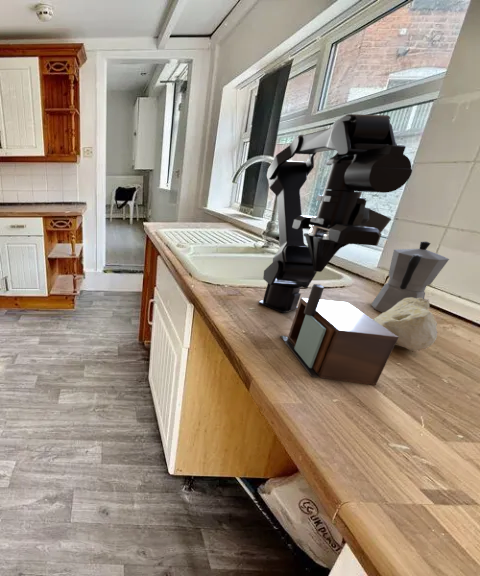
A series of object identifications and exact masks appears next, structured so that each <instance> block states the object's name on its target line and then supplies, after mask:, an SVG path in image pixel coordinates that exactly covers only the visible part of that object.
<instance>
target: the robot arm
mask: <svg viewBox="0 0 480 576" xmlns="http://www.w3.org/2000/svg"><path fill="white" fill-rule="evenodd" d="M390 119H391V117H390V116H389V115H388V114H387V115H386V114H358V113H356V114H353V113H348V114H346V115H344V116H342V117H340V118H338V119H337V120H335V121H334V122H333V124H332V126H331V127H328V128H324V129H320V130H317V131H313V132H309V133H306V134H298V135H296V136H294V138H293V139H292V140H291V142H290V144H289V145H288V146H287V147H285V148H283V150H281V151H279V153H277V154H276V155H275V156H274V158H273V159H272V162H271V163H270V165H269V167H268V168H267V172H266V178H267V182H268V188H269V189H270V190H271V192H272V193H273V194H274V195H275V196H276V201H277V202H276V203H277V220H278V236H279V239H278V241H279V248H278V250H277V252H276V253H275V254H274V255H273V257H272V262H271V263H270V264H269V265H268V266H267V267H266V268H265V269H264V270H263V276H262V278H263V280H264V281H265V282H266V283H267V285H266V288H265V292H264V295H263V299H261V300H259V301H258V304H260V305H262V306H264V307H267V308H269V309H271V310H273V311H276V312H278V313H281V314H286V313H288V312H292V311H295V310H297V308H298V305H299V302H300V299H301V295H302V294H301V292H300V290H301V288H304V289H308V288H309V286H310V284H311V283H312V280H313V279H314V278H315V276H316V275H317V273H321V272H323V270H325V268H326V267H327V265H328V264H329V263H330V261H331V260H332V259H333V257H334V256H335V255H336V254H337V253H338V251H339V250H341V249H342V248H344V247H346V246H348V245H362V246H379V243H380V240H381V237H382V232H383V231H384V230H385V228H386V227H387V226H388V224H389V223H390V222H391V220H392V218H391V217H389V216H387V215H384V214H383V213H380V212H378V211H376V210H374V209H371V208H370V207H366V205H367V200H366V199H367V197H361V196H362V194H363V193H383V194H386V193H392V192H395V191H397V190H399V189H401V188H402V187H403V186H404V185H406V183H407V182H408V180H410V178H411V176H412V173H413V168H412V162H411V160H410V158H409V157H408V156H407V155H405V154H404V153H405V150H406V147H407V146H406V145H403V144H402V145H400V144H397V142H396V138H395V133H394V128H393V125H392V124H391V120H390ZM329 151H336V153H335V154H334V155H333V156H332V157H330V158H329V159H327V161H326V163H325V164H326V166H330V168H329V171H328V175H327V177H326V180H325V181H326V182H325V185H324V188H323V191H322V195H321V194H317V195H316V199H315V201H318V202H319V205H318V208H317V212H316V215H315V216H313V215H303V214H302V213H303V212H302V211H303V210H302V200H301V189H302V187H303V186H304V184H305V183H306V182H307V180H308V176H309V174H310V173H311V171H312V170H314V167H315V156H316V154H317V153H321V152H323V153H324V152H329ZM295 155H308V157H307V159H306V161H301V160H299V161H298V160H291V159H292V158H293V157H295ZM304 230H308V232H307V233H304ZM304 237H305V238H304ZM305 241H306V243H305ZM306 244H307V245H306Z"/></svg>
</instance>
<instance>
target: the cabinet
mask: <svg viewBox="0 0 480 576" xmlns="http://www.w3.org/2000/svg"><path fill="white" fill-rule="evenodd" d="M308 298H309V297H308ZM308 298H307V297H300V298H299V301H298V304H297V307H298V308H297V309H296V311H295V314H294V317H293V319H292V324H291V327H290V330H289V332H288V335H287V336H286V335H280V338H281V340H282V341H283V342H284V343H285V345H286V346H287V348H288V349H289V350H290V351H291V353H292V354H293V356H294V357H295V358H296V359H297V361H298V362H299V363H300V364H301V366H302V367H303V368H304V370H305V371H306V372H307V373H308V375H309V376H310V377H311V378H318V377H319V378H320V379H326V380H334V381H341V382H348V383H349V382H350V383H356V384H365V385H372V386H376V385H377V382H378V381H379V379H380V377H381V375H382V374H383V371H384V368H385V367H386V365H387V362H388V360H389V358H390V356H391V355H392V352H393V350H394V348H395V346H396V342H397V340H398V338H399V337H398V336H396V335H395V334H393V333H392V332H390V331H389V330H387V329H386V328H385V327H383V326H382V325H380V324H379V323H377V322H376V321H374V320H373V319H374V318H371V317H370V316H369V315H367V314H366V313H364V312H363V311H361V309H358V308H357V307H356V306H354V305H352V304H351V303H349V302H348V301H339V300H329V299H320V301H319V304H318V306H317V309H316V312H315V315H314V316H313V317H314V318H315V319H316V320H317V321H318V322H319V323H320V324H321V325H322V326H323V327H325V328H326V331H325V334H324V337H323V339H322V342H321V345H320V347H319V350H318V353H317V355H316V358H315V361H314V363H313V366H312V368H309V367H308V365H307V364H306V363H305V362H304V360H303V359H302V358H301V357H300V355H299V354H298V353H297V352H296V350H295V349H294V348H295V345H296V342H297V339H298V336H299V333H300V330H301V327H302V324H303V321H304V318H305V315H306V314H304V310H305V307H306V304H307V301H308Z"/></svg>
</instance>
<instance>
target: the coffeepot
mask: <svg viewBox="0 0 480 576" xmlns="http://www.w3.org/2000/svg"><path fill="white" fill-rule="evenodd" d="M430 245H431V242H430V241H429V242H428V241H425V240H424V241H420V244H419V248H402V249H401V248H400V249H399V248H398V249H397V248H396V249H393V252H392V257H391V261H390V266H389V270H388V277H389V279H388V281H387V282H386V283H385V284H384V285H383V286H382V288H381V289H380V290H379V292H378V294H377V295H376V296H375V298H374V299H373V301H371V303H370V304H371V306H372V308H373V309H374V310H376V311H378V312H380V313H381V314H382V313H384V312H386V311H387V310H389V309H391V308H392V307H393V306H394V305H396V304H397V303H398V302H399V301H401V300H403V299H404V298H409V297H413V298H416V299H417V298H423V300H424V299H425V297H426V292H425V290H426V289H427V287H428V286H430V285H432V283H433V282H434V280H435V279H436V278H437V277H438V275H439V274H440V273H441V272H442V270H443V269H444V267H445V266H446V264H447V263H448V261H449V260H450V259H449V258H448V257H445V256H444V255H441V254H438V253H436V252H433V251H431V250H427V249H428V248H429V246H430Z"/></svg>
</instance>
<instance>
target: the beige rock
mask: <svg viewBox="0 0 480 576" xmlns="http://www.w3.org/2000/svg"><path fill="white" fill-rule="evenodd" d="M429 308H430V299H429V298H424V300H423V298H417V299H416V298H413V297H409V298H404V299H403V300H401V301H399V302H398V303H397V304H396V305H394V306H393V307H392V308H391V309H389V310H387V311H386V312H384V313H382V312H381V313H379V314H378V315H377V316H376V317H375V318H372V319H373V320H374V321H376V322H377V323H379V324H380V325H382V326H383V327H385V328H386V329H387V330H389V331H390V332H392V333H393V334H395V335H396V336H398V337H399V338H398V340H397V342H396V344H395V346H398V347H402V348H405V349H407V350H408V351H410V352H414V353H415V352H417V351H420V350H427V349H428V348H430V347H431V346H433V344H435V342H436V340H437V339H438V329H437V327H438V322H437V320H436V318H435V316H434V313H432V311H430V310H429Z"/></svg>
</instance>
